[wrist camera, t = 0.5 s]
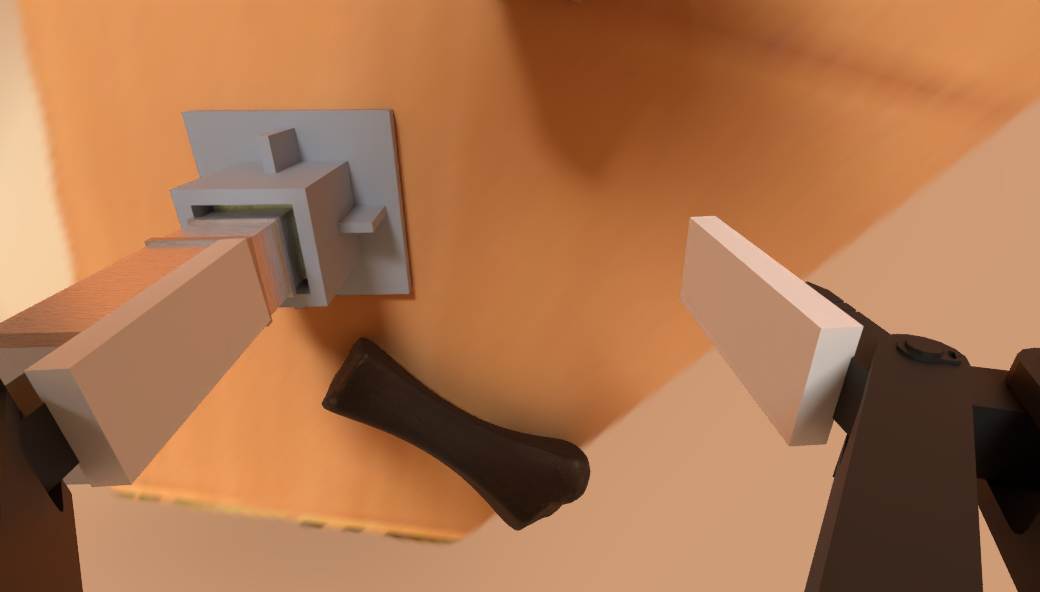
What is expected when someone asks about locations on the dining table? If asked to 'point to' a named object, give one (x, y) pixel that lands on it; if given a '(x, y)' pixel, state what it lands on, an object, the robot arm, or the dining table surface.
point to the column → (96, 296)
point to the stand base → (310, 190)
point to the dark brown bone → (460, 438)
